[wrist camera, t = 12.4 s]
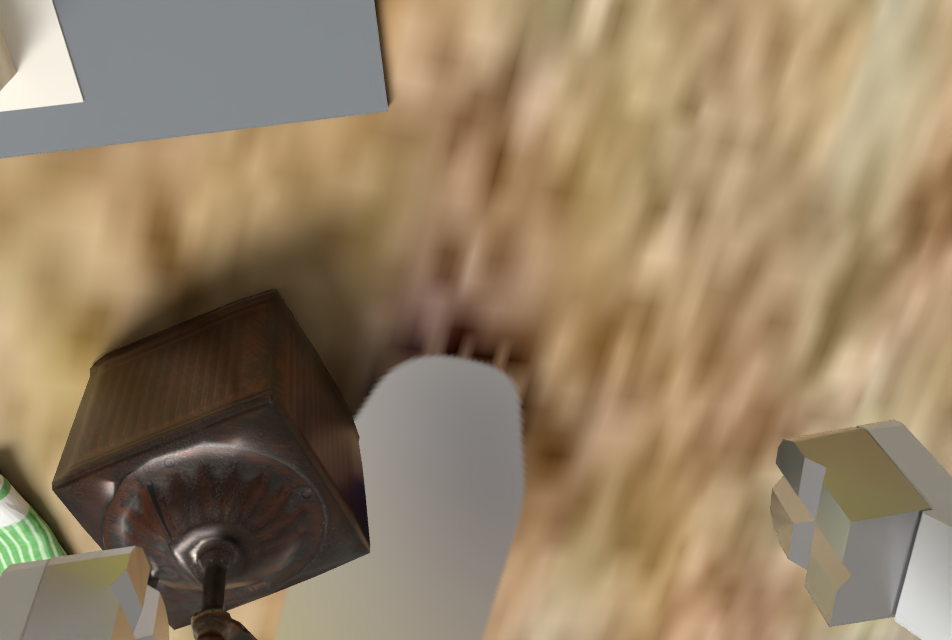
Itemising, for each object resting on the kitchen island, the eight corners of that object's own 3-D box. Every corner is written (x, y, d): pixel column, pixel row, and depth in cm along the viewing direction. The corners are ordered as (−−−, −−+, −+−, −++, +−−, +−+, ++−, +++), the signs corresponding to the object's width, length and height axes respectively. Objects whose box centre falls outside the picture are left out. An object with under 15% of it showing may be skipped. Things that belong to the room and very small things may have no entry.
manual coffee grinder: (73, 364, 45) (-46, 674, 30) (278, 281, 44) (262, 554, 29) (227, 561, 53) (195, 879, 38) (401, 493, 53) (438, 790, 37)
